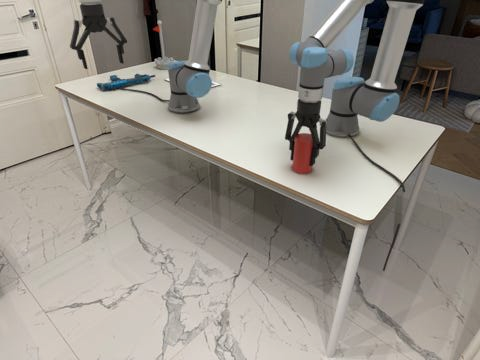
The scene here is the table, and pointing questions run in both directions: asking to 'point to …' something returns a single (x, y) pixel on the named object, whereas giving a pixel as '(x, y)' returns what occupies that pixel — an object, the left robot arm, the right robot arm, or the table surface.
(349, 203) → the table surface
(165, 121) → the table surface
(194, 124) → the table surface
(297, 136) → the canister
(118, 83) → the submachine gun
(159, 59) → the flag stand
